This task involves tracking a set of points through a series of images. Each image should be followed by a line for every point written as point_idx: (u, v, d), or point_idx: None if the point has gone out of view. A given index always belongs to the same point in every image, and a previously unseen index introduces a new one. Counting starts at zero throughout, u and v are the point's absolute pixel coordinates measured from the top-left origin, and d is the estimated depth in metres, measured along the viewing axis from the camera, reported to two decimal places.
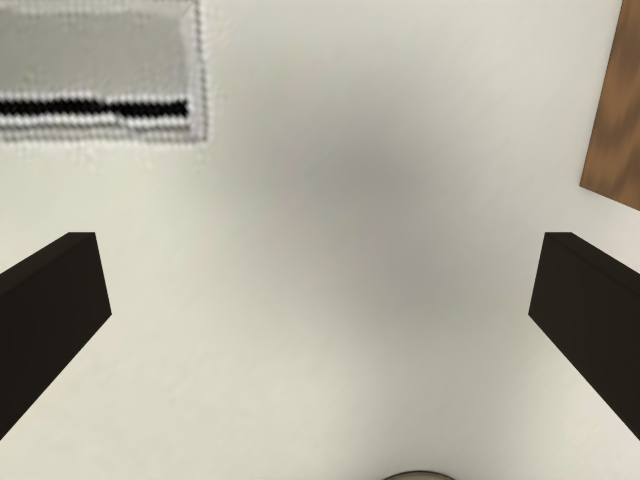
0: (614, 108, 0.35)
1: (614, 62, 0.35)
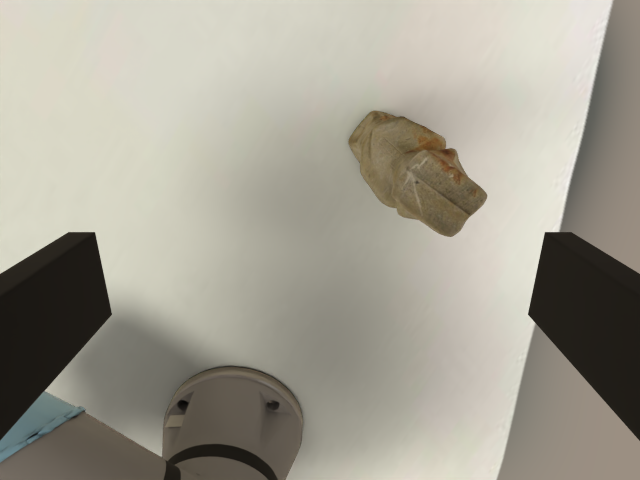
0: None
1: None
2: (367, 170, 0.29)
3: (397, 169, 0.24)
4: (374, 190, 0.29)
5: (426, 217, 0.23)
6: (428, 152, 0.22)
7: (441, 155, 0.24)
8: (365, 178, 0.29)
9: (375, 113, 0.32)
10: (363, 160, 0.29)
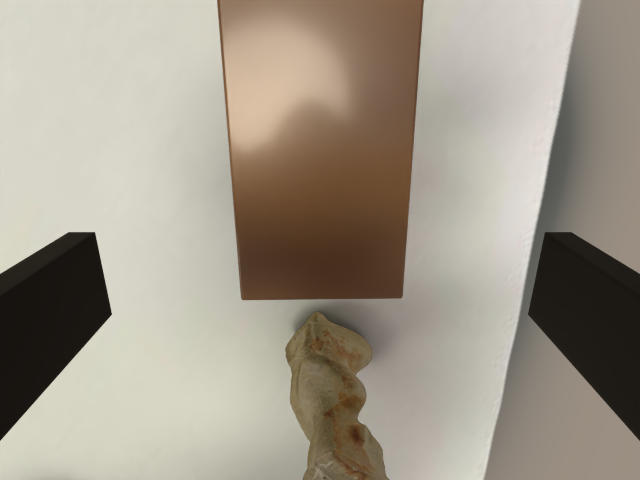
0: None
1: None
2: (295, 406, 0.30)
3: (310, 450, 0.25)
4: (301, 427, 0.30)
5: None
6: (333, 456, 0.23)
7: (350, 443, 0.25)
8: (294, 412, 0.30)
9: (308, 332, 0.33)
10: (292, 394, 0.30)
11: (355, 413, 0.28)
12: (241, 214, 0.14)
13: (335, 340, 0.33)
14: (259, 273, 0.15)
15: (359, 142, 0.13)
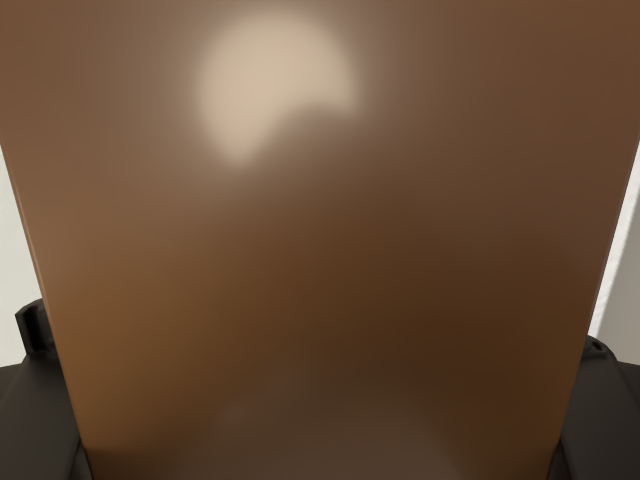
0: None
1: None
2: None
3: None
4: None
5: None
6: None
7: None
8: None
9: None
10: None
11: None
12: None
13: None
14: None
15: (427, 357, 0.05)
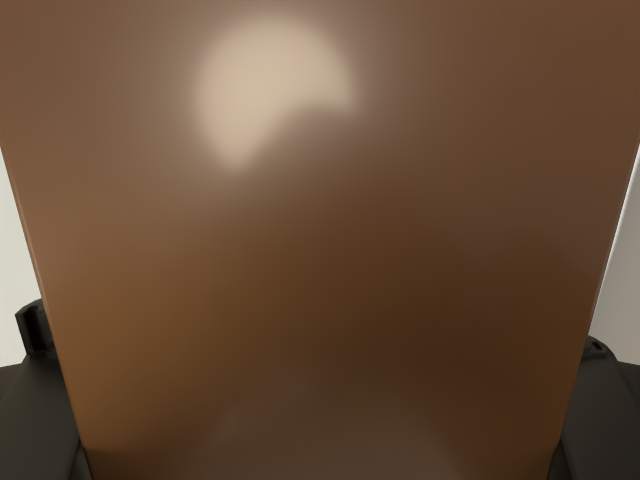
0: None
1: None
2: None
3: None
4: None
5: None
6: None
7: None
8: None
9: None
10: None
11: None
12: None
13: None
14: None
15: (428, 357, 0.05)
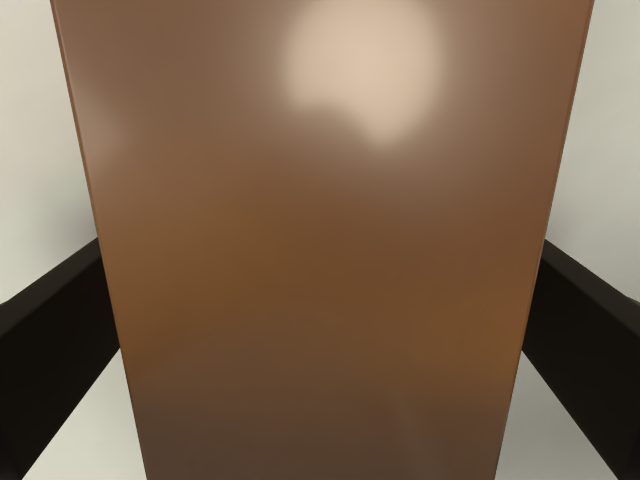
0: None
1: None
2: None
3: None
4: None
5: None
6: None
7: None
8: None
9: None
10: None
11: None
12: (152, 435, 0.07)
13: None
14: None
15: (407, 308, 0.06)
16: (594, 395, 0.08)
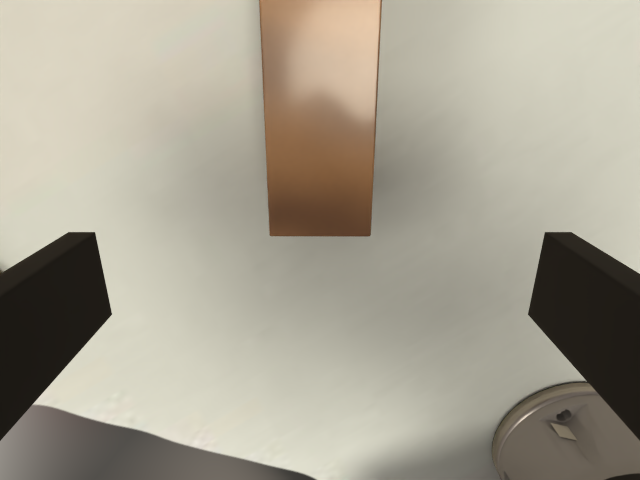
0: None
1: None
2: None
3: None
4: None
5: None
6: None
7: None
8: None
9: None
10: None
11: None
12: (271, 181, 0.23)
13: None
14: (282, 219, 0.24)
15: (342, 138, 0.23)
16: None
